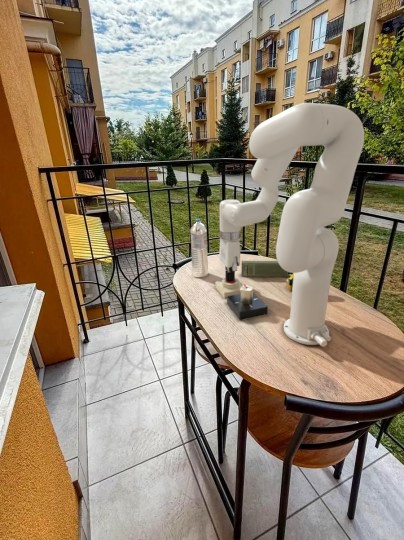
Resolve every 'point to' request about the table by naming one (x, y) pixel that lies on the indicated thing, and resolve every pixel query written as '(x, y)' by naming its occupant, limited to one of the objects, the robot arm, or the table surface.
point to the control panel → (247, 307)
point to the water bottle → (199, 249)
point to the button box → (228, 287)
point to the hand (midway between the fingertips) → (230, 280)
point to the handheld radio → (263, 269)
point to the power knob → (246, 294)
